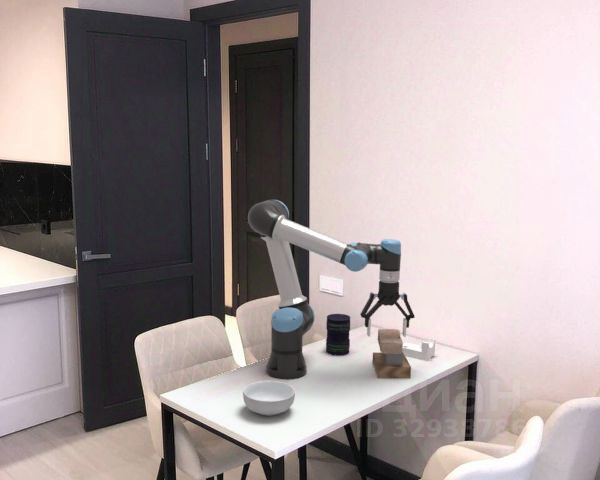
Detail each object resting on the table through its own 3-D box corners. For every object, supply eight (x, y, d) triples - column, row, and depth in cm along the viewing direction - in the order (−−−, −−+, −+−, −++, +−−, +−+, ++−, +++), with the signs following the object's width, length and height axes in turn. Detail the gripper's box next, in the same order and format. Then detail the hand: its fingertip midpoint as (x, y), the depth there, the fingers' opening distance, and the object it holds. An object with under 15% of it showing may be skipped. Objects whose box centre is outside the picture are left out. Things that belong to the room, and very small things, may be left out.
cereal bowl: (233, 407, 215) (233, 386, 214) (276, 396, 224) (276, 376, 223) (260, 426, 201) (260, 404, 200) (304, 414, 211) (305, 393, 210)
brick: (402, 354, 241) (403, 342, 240) (380, 353, 241) (380, 341, 241) (398, 340, 257) (399, 328, 257) (377, 339, 258) (377, 328, 257)
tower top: (386, 365, 244) (386, 352, 243) (383, 353, 257) (383, 341, 256) (402, 365, 244) (403, 352, 243) (398, 353, 257) (399, 341, 256)
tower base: (378, 379, 243) (378, 366, 242) (372, 364, 259) (372, 352, 258) (410, 379, 243) (411, 366, 242) (402, 364, 259) (403, 352, 258)
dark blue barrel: (320, 352, 271) (321, 316, 269) (335, 346, 278) (336, 312, 276) (340, 357, 265) (341, 321, 262) (354, 351, 272) (355, 316, 270)
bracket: (434, 357, 268) (435, 339, 267) (427, 361, 262) (427, 343, 261) (405, 350, 276) (406, 333, 274) (397, 355, 270) (398, 337, 269)
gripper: (357, 282, 241) (355, 338, 244) (424, 283, 242) (421, 338, 246) (354, 278, 248) (352, 332, 252) (419, 279, 250) (416, 332, 253)
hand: (386, 335), depth 249 cm, fingers open, 13 cm apart
